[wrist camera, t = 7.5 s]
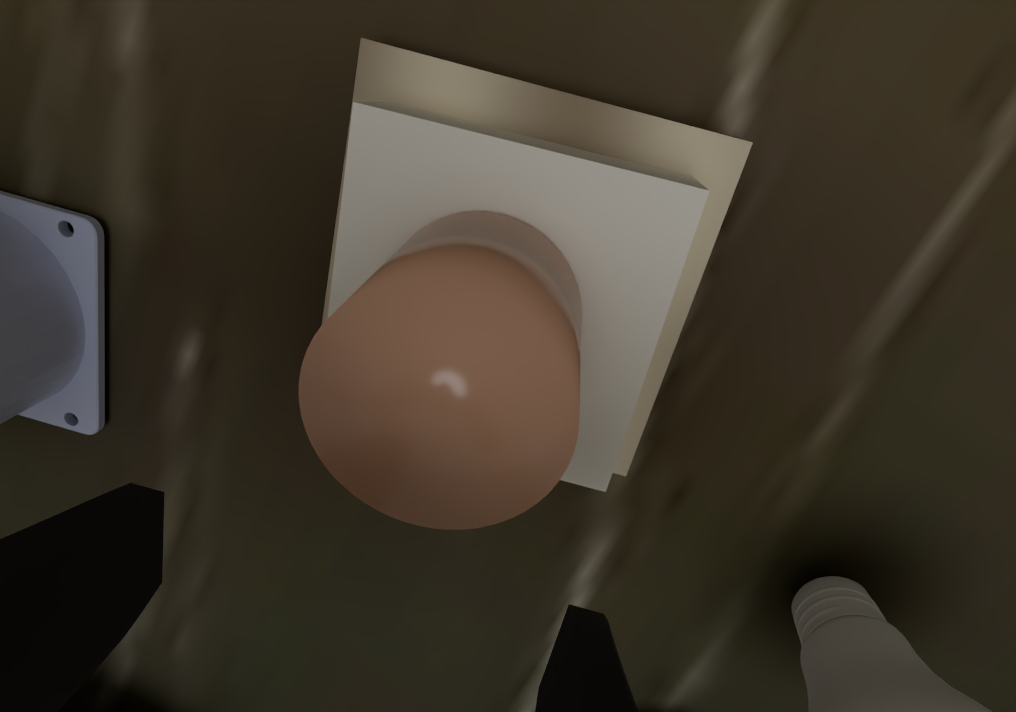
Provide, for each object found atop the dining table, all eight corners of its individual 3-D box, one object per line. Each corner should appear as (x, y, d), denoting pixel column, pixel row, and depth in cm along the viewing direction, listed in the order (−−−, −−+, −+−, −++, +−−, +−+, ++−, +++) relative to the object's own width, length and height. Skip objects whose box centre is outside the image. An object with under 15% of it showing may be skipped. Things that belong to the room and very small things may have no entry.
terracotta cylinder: (371, 373, 16) (288, 492, 12) (398, 188, 14) (310, 246, 10) (552, 420, 16) (539, 557, 12) (607, 241, 14) (615, 323, 10)
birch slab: (342, 358, 22) (312, 388, 20) (390, 46, 18) (361, 37, 16) (622, 436, 22) (626, 476, 19) (732, 137, 18) (752, 142, 16)
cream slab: (349, 377, 19) (316, 414, 17) (387, 101, 16) (352, 102, 14) (604, 444, 19) (605, 491, 17) (693, 177, 16) (709, 190, 14)
